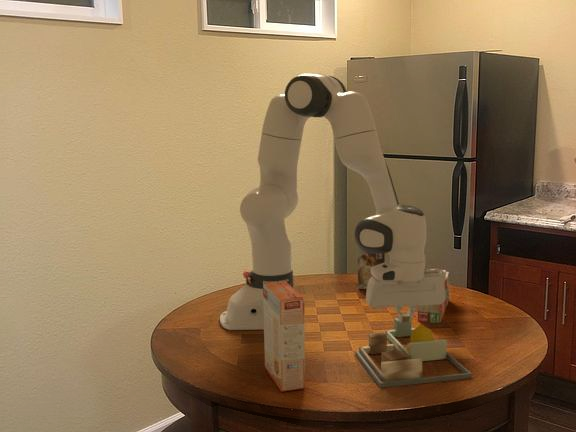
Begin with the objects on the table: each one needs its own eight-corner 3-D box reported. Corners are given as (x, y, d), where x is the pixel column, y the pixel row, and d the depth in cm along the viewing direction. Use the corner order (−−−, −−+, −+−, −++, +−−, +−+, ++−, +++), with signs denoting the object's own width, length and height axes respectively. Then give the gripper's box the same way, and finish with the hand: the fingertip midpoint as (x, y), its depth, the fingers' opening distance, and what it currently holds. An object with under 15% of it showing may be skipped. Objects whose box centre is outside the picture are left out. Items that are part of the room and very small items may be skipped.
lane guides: (380, 387, 138) (380, 383, 137) (355, 354, 156) (355, 350, 155) (471, 377, 141) (471, 373, 141) (437, 346, 159) (437, 343, 159)
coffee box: (385, 284, 214) (385, 237, 211) (385, 289, 208) (385, 242, 205) (358, 283, 215) (358, 237, 213) (357, 289, 209) (357, 241, 206)
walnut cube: (390, 378, 142) (390, 359, 141) (381, 371, 146) (381, 352, 145) (408, 375, 144) (408, 356, 143) (398, 367, 148) (398, 349, 147)
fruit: (437, 358, 152) (437, 326, 151) (415, 360, 151) (415, 328, 150) (427, 349, 158) (428, 319, 156) (406, 352, 156) (407, 321, 155)
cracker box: (307, 389, 138) (305, 296, 134) (280, 393, 136) (278, 299, 132) (288, 364, 151) (286, 279, 147) (264, 367, 149) (261, 282, 145)
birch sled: (382, 383, 139) (382, 363, 138) (358, 352, 157) (358, 334, 156) (422, 379, 141) (422, 359, 140) (393, 348, 158) (394, 331, 157)
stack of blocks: (428, 299, 198) (429, 260, 196) (449, 300, 196) (450, 262, 193) (417, 321, 178) (418, 279, 176) (440, 323, 176) (441, 281, 174)
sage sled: (410, 362, 150) (410, 344, 149) (384, 335, 167) (384, 319, 166) (446, 358, 151) (447, 340, 151) (417, 332, 169) (418, 316, 168)
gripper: (440, 264, 165) (437, 315, 168) (364, 268, 161) (363, 319, 164) (450, 271, 159) (447, 323, 161) (372, 274, 155) (370, 328, 158)
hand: (404, 321), depth 163 cm, fingers closed
